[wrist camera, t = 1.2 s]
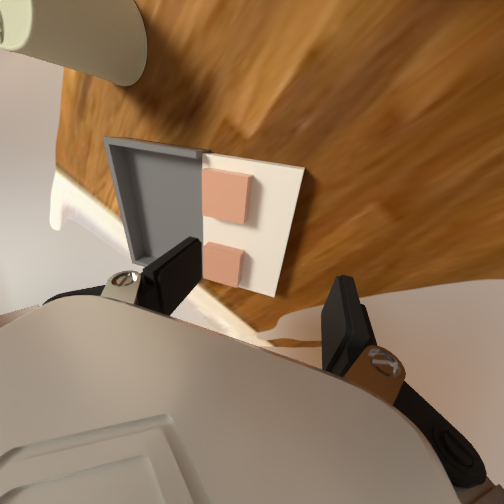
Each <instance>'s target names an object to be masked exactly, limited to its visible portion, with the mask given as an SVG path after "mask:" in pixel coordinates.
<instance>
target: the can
mask: <svg viewBox="0 0 504 504" xmlns="http://www.w3.org/2000/svg"><path fill="white" fill-rule="evenodd" d="M0 48H2V49H4V50H7V51H10V52H16V53H20V54H24V55H27V56H30V57H34V58H37V59H41V60H44V61H47V62H50V63H54V64H57V65H60V66H64V67H67V68H70V69H73V70H76V71H80V72H83V73H86V74H89V75H93V76H96V77H99V78H102V79H105V80H108V81H110V82H112V83H114V84H116V85H119V86H130V85H132V84H134V83H135V82H137V81H138V80H139V78H140V77H141V75H142V73H143V71H144V68H145V65H146V60H147V38H146V31H145V27H144V23H143V20H142V17H141V14H140V12H139V10H138V8H137V6H136V4H135V2H134V1H133V0H0Z"/></svg>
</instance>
